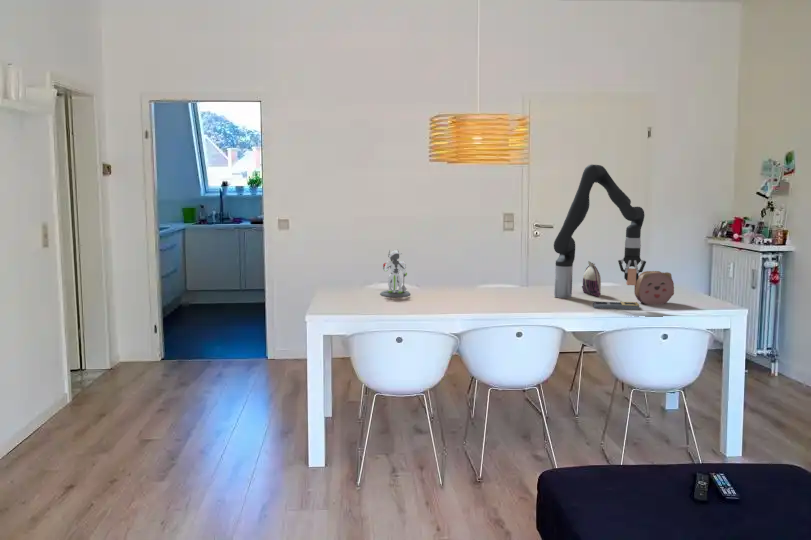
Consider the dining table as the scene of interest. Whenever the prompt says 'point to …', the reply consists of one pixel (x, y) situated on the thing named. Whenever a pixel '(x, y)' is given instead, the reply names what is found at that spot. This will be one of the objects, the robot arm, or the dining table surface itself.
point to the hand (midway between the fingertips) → (631, 280)
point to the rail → (616, 305)
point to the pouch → (592, 280)
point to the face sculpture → (654, 287)
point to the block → (631, 276)
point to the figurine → (395, 276)
